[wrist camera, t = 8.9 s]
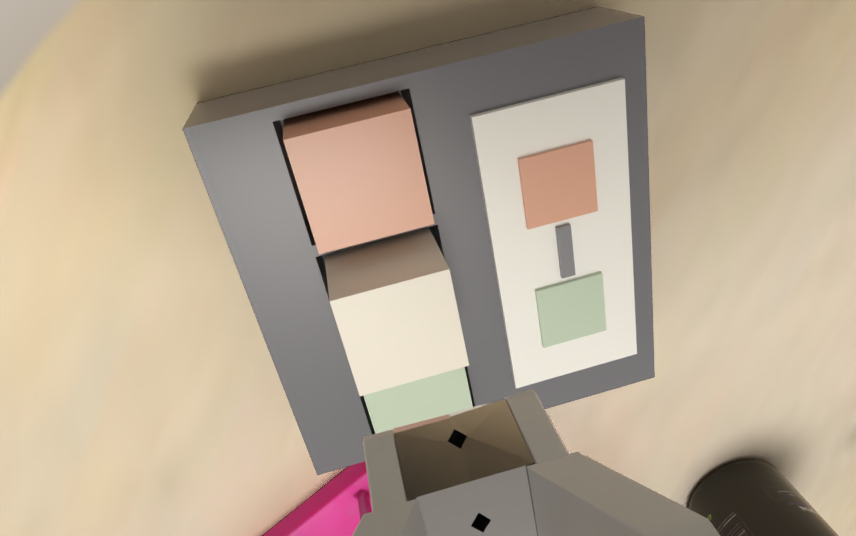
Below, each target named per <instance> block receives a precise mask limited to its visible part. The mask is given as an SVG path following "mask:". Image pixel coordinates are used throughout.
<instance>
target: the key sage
mask: <svg viewBox="0 0 856 536" xmlns="http://www.w3.org/2000/svg"><path fill="white" fill-rule="evenodd" d="M363 396H364V399H365V402H366V405H367V409H368V412H369V415H370V418H371V421H372V425H373V428H374V431H375V434H376V433H380V432H384V431H388V430H393V428H397V427H401V426H405V425H409V424H413V423H416V422H420V421H424V420H428V419H432V418H436V417H440V416H444V415H447V414H451V413H454V412H458V411H461V410H465V409H468V408H471V407H473V405H472V400H471V395H470V391H469V386H468V381H467V376H466V372H465V367H462V368H459V369H455V370H452V371H448V372H445V373H441V374H438V375H434V376H430V377H427V378H423V379H420V380H416V381H413V382H409V383H406V384H402V385H399V386H395V387H392V388H388V389H384V390H381V391H377V392H374V393H370V394H367V395H363Z"/></svg>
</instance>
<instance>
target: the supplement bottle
mask: <svg viewBox="0 0 856 536" xmlns="http://www.w3.org/2000/svg"><path fill="white" fill-rule="evenodd" d="M688 509H690V510H692V511H694V512H696V513H698V514H700V515H701V516H703V517H705V518H707V519H709V521H710V522H711V523H712V525H713V526H714V528H715V529H716V530H717V532H718V533H719V535H720V536H838V534H837V533H836V532H835V531H834V530H833V529H832V528H831V527H830V526H829V525H828V524H827V522H826V521H825V520H824V519H823V518H822V517H821V516H820V515H819V514H818V513H817V512H816V510H815V509H814V508H813V507H812V506H811V505H810V504H809V503H808V502H807V501H806V500H805V499H804V497H803V496H802V495H801V494H800V493H799V492H798V491H797V490H796V489H795V488H794V487H793V485H792V484H791V483H790V482H789V481H788V480H787V479H786V478H785V477H784V476H783V475H782V474H781V473H780V472H779V471H778V470H777V469H776V468H775V467H773V466H772V465H770V464H768V463H765V462H762V461H758V460H741V461H736V462H732V463H729V464H727V465H724V466H722V467H720V468H718V469H717V470H715V471H714V472H712V473H711V474H709V475H708V476H707V477H706V478H705V479H704V480H703V481H702V482H701V483H700V484H699V485H698V486H697V488H696V489H695V491H694V492H693V494H692V496H691V499H690V502H689V506H688Z"/></svg>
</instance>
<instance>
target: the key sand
mask: <svg viewBox="0 0 856 536" xmlns="http://www.w3.org/2000/svg"><path fill="white" fill-rule="evenodd" d="M324 258H325V266H326V275H327V284H328V292H329V301H330V304H331V308H332V311H333V314H334V317H335V320H336V323H337V326H338V330H339V333H340V336H341V339H342V342H343V345H344V348H345V352H346V355H347V358H348V361H349V364H350V367H351V370H352V374H353V377H354V380H355V383H356V386H357V389H358V392H359V396H363V395H367V394H370V393H374V392H377V391H381V390H384V389H388V388H392V387H395V386H399V385H402V384H406V383H409V382H413V381H416V380H420V379H423V378H427V377H430V376H434V375H438V374H441V373H445V372H448V371H452V370H455V369H459V368H462V367H466V366H469V362H468V357H467V352H466V347H465V342H464V338H463V333H462V328H461V323H460V318H459V313H458V308H457V303H456V298H455V294H454V289H453V284H452V279H451V274H450V269H449V267H448V265H447V263H446V261H445V259H444V257H443V255H442V253H441V251H440V249H439V247H438V245H437V243H436V241H435V239H434V237H433V235H432V233H431V231H430V228H429V227H428V228H424V229H420V230H416V231H412V232H409V233H405V234H401V235H397V236H393V237H390V238H386V239H382V240H378V241H374V242H371V243H367V244H363V245H359V246H356V247H352V248H348V249H344V250H340V251H337V252H333V253H329V254H325V255H324Z"/></svg>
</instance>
